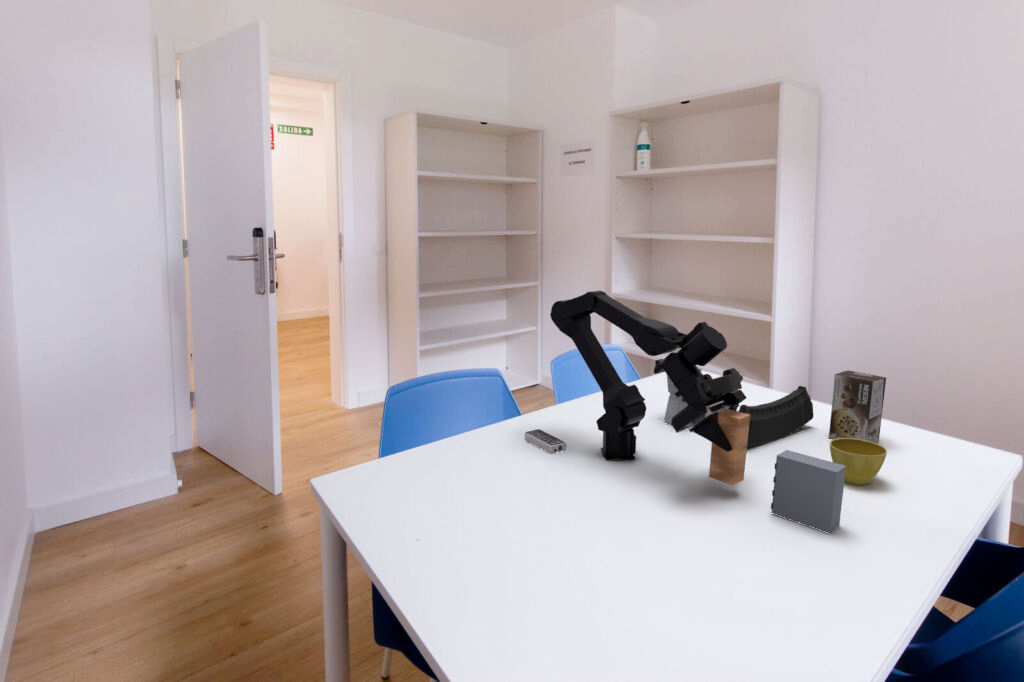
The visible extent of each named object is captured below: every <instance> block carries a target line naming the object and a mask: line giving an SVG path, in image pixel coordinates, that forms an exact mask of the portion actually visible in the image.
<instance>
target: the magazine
mask: <svg viewBox="0 0 1024 682" xmlns="http://www.w3.org/2000/svg"><path fill="white" fill-rule="evenodd" d="M737 412H741V413H745V414H749V415H750V422H749V432H748V442H747V448H748V447H755V446H761V445H765V444H769V443H773V442H776V441H778V439H779V440H781V439H784V438H785V437H788V436H789V435H791V434H793V433H795V432H796V431H798V430H802V427H804V426H805V425H806V424H808V423H809V422H810V421H812V420H813V419H814V405H813V402H812V399H811V395H810V394H809V393H808V390H807V386H803V385H799V386H798V387H797V389H794V390H793V391H792V392H790V393H789V394H787V395H784V396H783V397H781V398H779V399H776V400H774V401H771V402H767V403H762V404H757V405H746V404H741V405H739V409H738V410H737Z"/></svg>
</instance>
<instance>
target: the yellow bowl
mask: <svg viewBox="0 0 1024 682" xmlns="http://www.w3.org/2000/svg"><path fill="white" fill-rule="evenodd" d="M829 450H830V451H829V452H830V457H831V462H833V463H837V464H841V465H844V466H846V471H845V480H844V483H847V484H851V485H856V486H857V485H858V486H864V485H868V484H870V482H871V481H873V480H874V479H875V477H877V475H878V473H879V472H880V470H881V469H882V467H883V465H884V464H885V463H884V462H885V460H886V457H887V454H888V450H887V448H886V447H884V446H882V445H881V444H876V443H873V442H870V441H866V440H860V439H853V438H838V439H831V440H830V442H829Z"/></svg>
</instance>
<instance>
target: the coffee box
mask: <svg viewBox="0 0 1024 682" xmlns="http://www.w3.org/2000/svg"><path fill="white" fill-rule="evenodd" d="M833 377H834V379H833V391H832V402H831V414H830V423H829V430H828V431H829V432H828V439H829V440H830V439H831V440H834V439H838V438H853V439H860V440H866V441H870V442H873V443H876V444H879V443H880V435H881V434H880V433H881V426H882V418H883V408H884V399H885V393H886V392H885V391H886V384H887V377H885V376H879V375H874V374H869V373H865V372H859V371H854V370H843V371H842V372H841V371H840V372H838V373H835V374H834V376H833ZM879 445H880V444H879Z"/></svg>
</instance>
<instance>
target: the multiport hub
mask: <svg viewBox="0 0 1024 682" xmlns="http://www.w3.org/2000/svg"><path fill="white" fill-rule="evenodd" d="M525 440H526V441H525ZM524 441H525V442H527V441H528V442H527V443H529V442H530V443H529V444H531V443H532V444H531V445H533V444H534V445H533V446H535V445H536V446H538V447H539V448H538V447H537V448H538V449H540V448H542V449H543V450H542V449H541V450H542V451H544V450H545V451H544V452H546V451H547V452H546V453H548V452H549V453H550V455H554V454H553V453H555V454H557V453H556V452H559V453H562V452H561V451H563V452H566V451H567V442H566V441H564V440H562V439H560V438H559V437H556V436H554V435H552V434H550V433H548V432H546V431H544V430H542V429H540V428H538V429H533V430H528V431H525V432H524ZM536 446H535V447H536ZM565 450H566V451H565ZM549 453H548V454H549Z"/></svg>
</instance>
